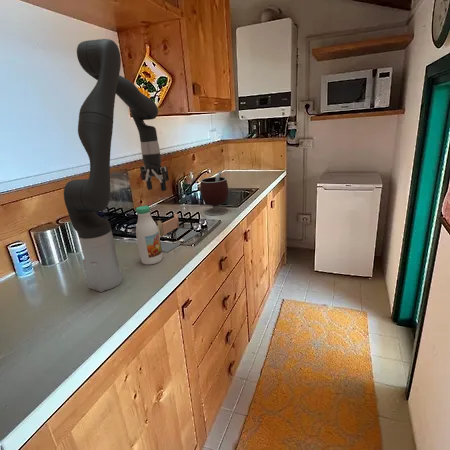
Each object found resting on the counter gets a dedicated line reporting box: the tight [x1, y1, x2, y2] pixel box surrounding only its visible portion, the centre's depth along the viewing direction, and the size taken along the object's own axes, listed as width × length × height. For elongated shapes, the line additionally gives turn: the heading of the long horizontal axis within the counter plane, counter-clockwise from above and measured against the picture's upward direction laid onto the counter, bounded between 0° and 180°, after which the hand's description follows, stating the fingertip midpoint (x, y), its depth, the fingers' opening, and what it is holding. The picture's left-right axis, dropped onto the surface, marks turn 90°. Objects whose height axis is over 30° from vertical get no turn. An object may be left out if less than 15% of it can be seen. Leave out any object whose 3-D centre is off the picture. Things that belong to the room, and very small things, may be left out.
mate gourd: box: [200, 170, 229, 217], centre depth 153 cm, size 16×14×20 cm
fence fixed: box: [156, 220, 163, 237], centre depth 123 cm, size 12×2×7 cm, turn 148°
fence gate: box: [161, 213, 180, 235], centre depth 132 cm, size 10×2×6 cm, turn 148°
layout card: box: [160, 227, 202, 254], centre depth 126 cm, size 22×16×1 cm
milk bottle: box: [135, 205, 164, 265], centre depth 105 cm, size 8×8×20 cm
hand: (157, 190), depth 132 cm, fingers open, 7 cm apart
